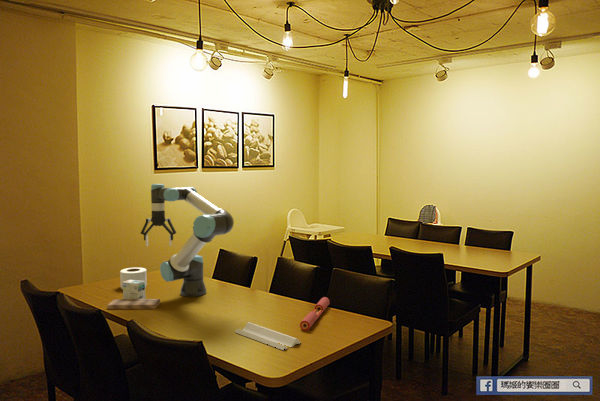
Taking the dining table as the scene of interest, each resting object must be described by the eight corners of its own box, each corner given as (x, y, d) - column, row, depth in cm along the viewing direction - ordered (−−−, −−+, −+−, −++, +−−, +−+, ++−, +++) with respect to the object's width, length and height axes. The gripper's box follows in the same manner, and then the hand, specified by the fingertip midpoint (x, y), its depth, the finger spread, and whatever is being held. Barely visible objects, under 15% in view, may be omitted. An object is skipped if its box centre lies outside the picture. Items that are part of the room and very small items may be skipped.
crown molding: (234, 334, 223) (234, 326, 223) (254, 327, 232) (254, 320, 232) (283, 352, 202) (283, 343, 202) (302, 344, 211) (302, 336, 211)
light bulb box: (146, 299, 276) (145, 280, 275) (138, 302, 270) (138, 283, 269) (130, 297, 280) (129, 279, 279) (122, 300, 273) (122, 281, 272)
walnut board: (160, 302, 269) (160, 298, 269) (155, 308, 258) (155, 304, 258) (114, 303, 268) (114, 299, 268) (107, 308, 257) (107, 304, 257)
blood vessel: (309, 331, 226) (310, 321, 226) (299, 330, 228) (299, 320, 227) (329, 306, 267) (329, 297, 266) (320, 305, 268) (320, 296, 268)
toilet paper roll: (141, 290, 296) (141, 272, 295) (116, 289, 296) (116, 272, 295) (150, 283, 311) (149, 267, 310) (126, 283, 311) (125, 267, 310)
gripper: (180, 209, 289) (181, 244, 290) (138, 209, 287) (139, 244, 289) (178, 210, 281) (178, 246, 283) (134, 210, 280) (135, 247, 281)
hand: (158, 245), depth 286 cm, fingers open, 13 cm apart
